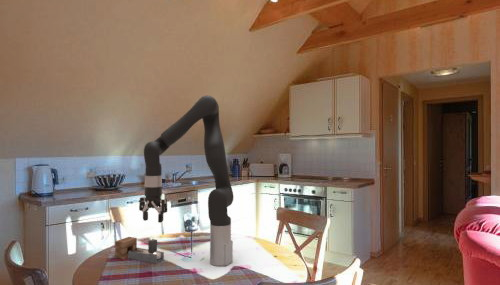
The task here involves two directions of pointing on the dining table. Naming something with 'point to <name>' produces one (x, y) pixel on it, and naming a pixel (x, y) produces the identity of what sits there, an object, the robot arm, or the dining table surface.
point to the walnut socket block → (125, 247)
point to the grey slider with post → (151, 249)
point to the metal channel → (144, 256)
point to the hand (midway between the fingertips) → (152, 221)
